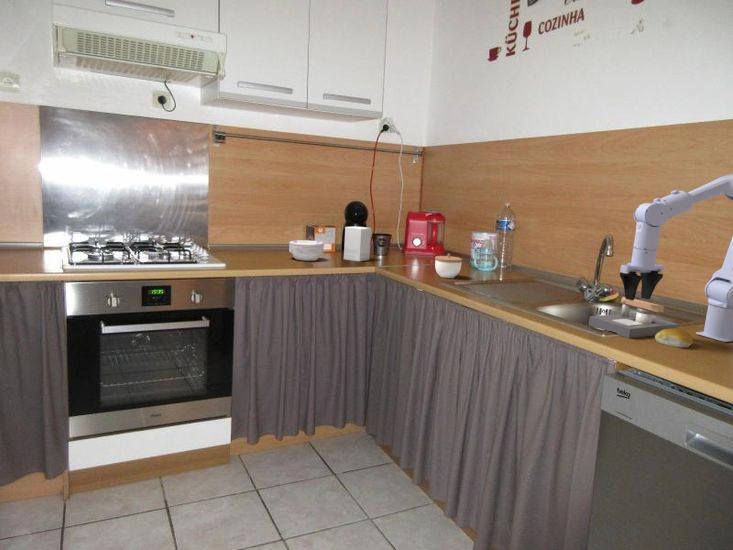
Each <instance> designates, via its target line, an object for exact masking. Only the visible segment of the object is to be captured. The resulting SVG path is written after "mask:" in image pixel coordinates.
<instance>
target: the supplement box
mask: <svg viewBox="0 0 733 550" xmlns="http://www.w3.org/2000/svg"><path fill="white" fill-rule="evenodd" d="M344 229H345V230H344V245H343V246H344V249H343V260H347V261H353V262H363V261H364V262H365V261H369V260H370V255H371V240H372V239H371V238H372V227H365V226H345V227H344Z"/></svg>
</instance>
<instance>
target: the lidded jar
mask: <svg viewBox="0 0 733 550" xmlns="http://www.w3.org/2000/svg"><path fill="white" fill-rule="evenodd" d="M462 262H463V258H461V257H457V256H451V253H447V255H437V256H435V257H434V267H435V271H436V274H438V275H439V276H438V277H440V278H442V279H443V278H444V279H445V278H446V279H454V278H455V277H456V276H457V275H459V273H460V271H461V269H462V268H461V267H462Z"/></svg>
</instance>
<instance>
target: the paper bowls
mask: <svg viewBox="0 0 733 550" xmlns="http://www.w3.org/2000/svg"><path fill="white" fill-rule="evenodd" d="M324 247H325V243H324V242H322V241H319V240H308V239H307V240H304V239H303V240H301V239H300V240H290V241H289V245H288V250H289V253H290V254H292V256H293V258H294V260H297V261H305V262H311V261H317V260H318V259H319V258H320V256H321V255H323V254H324V251H325V249H324Z"/></svg>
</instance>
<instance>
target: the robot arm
mask: <svg viewBox="0 0 733 550" xmlns="http://www.w3.org/2000/svg"><path fill="white" fill-rule="evenodd" d="M720 195H723V196H725V197H726V198H727V199H729V200H730V201H731V202H733V173H730V174H727V175H724V176H719V178H716V179H715V180H712V181H710V182H707V183H706V184H704V185H700V186H699V187H697V188H695V189H692V190H690V191H688V192H686V191H684V190H675V189H674V190H671V192H670V194H669V195H665V196H663V197H661V198H660V197H656V198H653V202H652V203H651V202H649V203H648V202H644V203H641V204H639V206H638V207H637V208H636V210H635V211H634V212H633V220H634V221H635V224H636V226H635V235H634V241H633V247H632V254H631V262H628V263H627V264H622V265H620V271H619V277H620V278H621V281H622V284H623V288H624V289H623V290H624V297H625V298H626V299H628V300H634V299H636V295H637V289H638V287H639V284H640V283H641V290H640V298H641V299H645V300H650V299H651V298H652V295H653V293H654V291H655V288H657V285H658V284H659V283H660V282H661V280H662V279H663V277H664V274H663V272H664V267H665V266H664V265H662V264H656V261H657V255H658V250H659V249H658V248H659V243H660V242H659V241H660V236H661V228H662V226H663V225H664V224H665V223H666V222H667V221H668V220H669V219H672V218H675V217H677V216H679V215H682V214H684V213H687V212H690V211H691V209H692V207H693V205H695V204H698V203H700V202H703V201H706V200H709V199H711V198H715V197H717V196H720ZM731 237H732V238H731V240H730V243H729V246H728V249H727V251H726V254H725V257H724V261H723V264H722V267H721V268H720V269H717V271H715V272H714V273H713V274H712V276H711V279H710V280H709V281H707V284H706V285H705V287H704V294H705V297H706V298H707V303H708V307H707V310H706V311H707V312H706V317H705V323H704V328H703V331H696V332H695V334H696V335H698V336H702V337H706V338H708V339H712V340H717V341H720V342H723V343H727V342H733V236H731ZM638 273H639V274H640V275H639V274H638Z"/></svg>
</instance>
